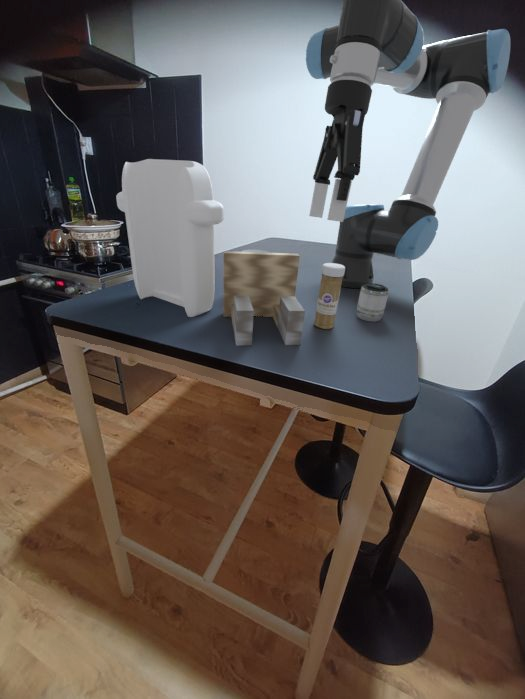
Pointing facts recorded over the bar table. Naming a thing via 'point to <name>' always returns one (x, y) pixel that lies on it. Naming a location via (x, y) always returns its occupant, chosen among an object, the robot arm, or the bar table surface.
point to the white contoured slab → (171, 231)
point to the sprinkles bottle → (329, 295)
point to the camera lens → (372, 302)
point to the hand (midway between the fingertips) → (324, 219)
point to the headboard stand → (262, 293)
